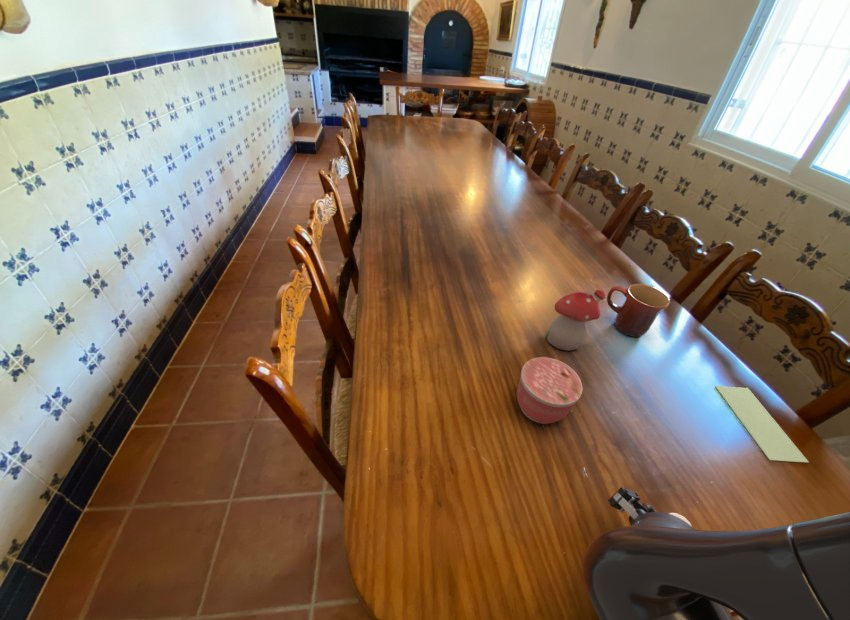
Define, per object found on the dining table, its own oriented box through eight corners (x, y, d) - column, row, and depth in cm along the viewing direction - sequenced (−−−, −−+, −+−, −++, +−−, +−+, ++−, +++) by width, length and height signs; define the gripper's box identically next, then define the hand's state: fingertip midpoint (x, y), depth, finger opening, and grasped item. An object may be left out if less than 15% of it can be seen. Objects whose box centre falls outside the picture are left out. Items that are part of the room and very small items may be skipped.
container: (537, 440, 62) (551, 414, 57) (500, 395, 69) (509, 368, 64) (579, 416, 66) (595, 390, 61) (540, 376, 73) (552, 349, 68)
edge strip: (808, 462, 62) (809, 462, 62) (769, 460, 62) (770, 460, 62) (747, 388, 74) (748, 387, 74) (714, 386, 74) (715, 385, 74)
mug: (651, 326, 88) (672, 293, 81) (644, 346, 82) (667, 313, 75) (601, 306, 93) (617, 274, 86) (592, 324, 87) (609, 290, 80)
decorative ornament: (584, 339, 83) (610, 287, 73) (583, 358, 78) (611, 305, 68) (543, 327, 85) (563, 275, 75) (540, 346, 80) (562, 293, 70)
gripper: (783, 616, 30) (747, 565, 43) (627, 472, 38) (638, 466, 52) (716, 673, 31) (702, 606, 44) (579, 519, 39) (602, 502, 53)
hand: (667, 531), depth 48 cm, fingers closed on salt shaker, 5 cm apart
